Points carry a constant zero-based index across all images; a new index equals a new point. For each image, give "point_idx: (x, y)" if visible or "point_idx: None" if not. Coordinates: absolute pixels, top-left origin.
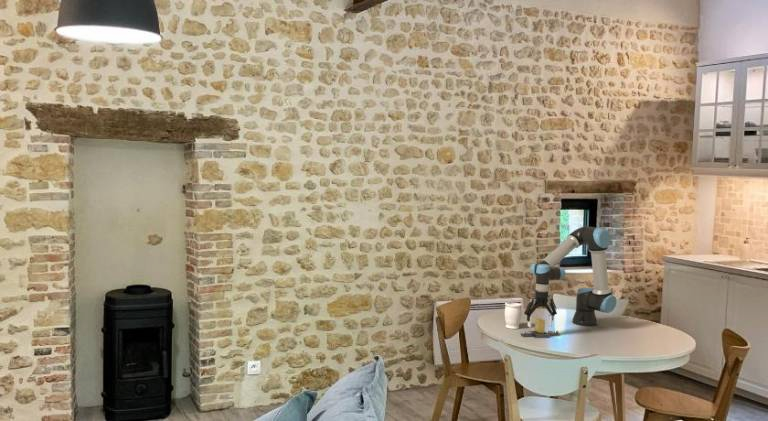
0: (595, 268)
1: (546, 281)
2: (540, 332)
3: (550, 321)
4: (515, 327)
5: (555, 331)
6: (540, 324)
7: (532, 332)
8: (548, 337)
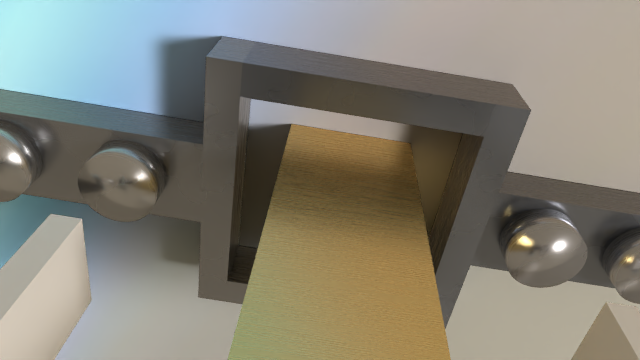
0: None
1: None
2: (366, 176)
3: (14, 328)
4: None
5: (6, 157)
6: (383, 294)
7: (463, 255)
8: (253, 42)
